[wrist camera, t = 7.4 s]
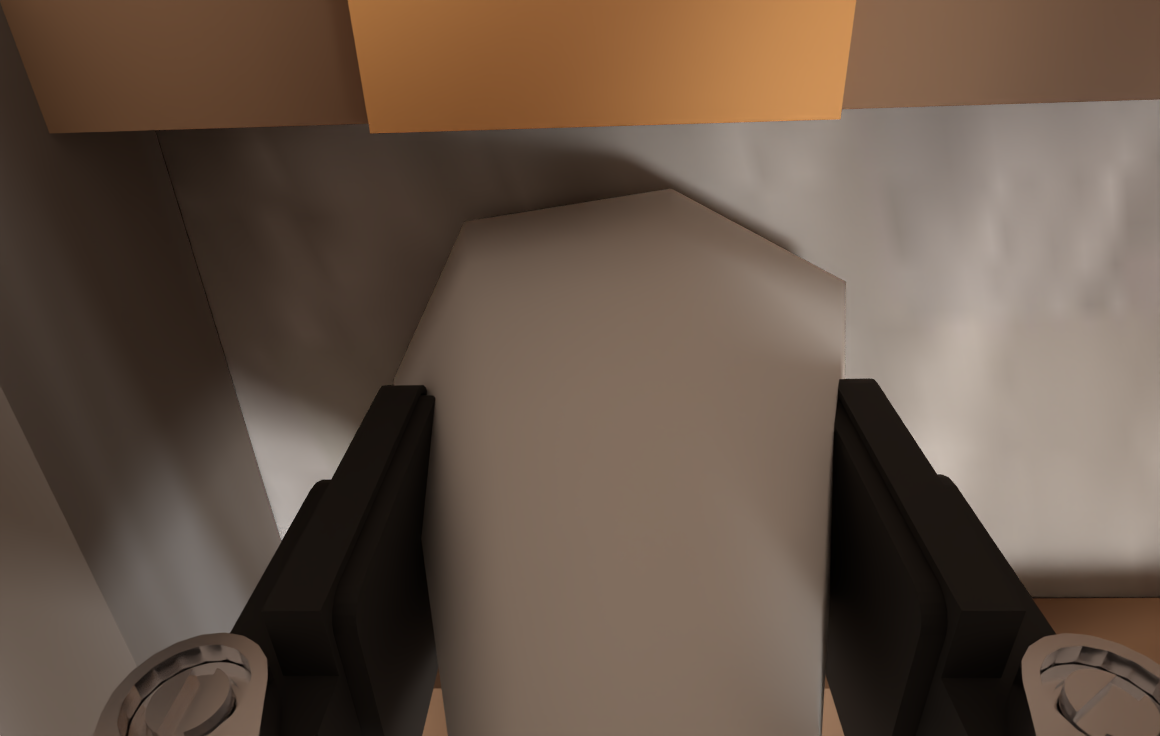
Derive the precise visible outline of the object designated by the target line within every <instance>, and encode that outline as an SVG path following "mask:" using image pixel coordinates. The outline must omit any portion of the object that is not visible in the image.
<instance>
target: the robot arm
mask: <svg viewBox="0 0 1160 736" xmlns="http://www.w3.org/2000/svg"><path fill="white" fill-rule="evenodd" d="M434 407H435V397H434V396H433V395H427V389H426V387H425V386H424V385H387V386H382V387H381V388H380V390H379V391H378V393H377V395H376V397H375V399H374V401H373V403H372V404H371V406H370V408H369V410H368V412H367V414H366V416H365V418H364V419H363V421H362V423H361V425H360V427H359V429H358V431H357V433H356V434H355V436H354V438H353V440H352V442H351V444H350V446H349V447H348V449H347V451H346V453H345V455H344V457H343V459H342V461H341V462H340V464H339V466H338V468H337V470H336V472H335V474H334V476H333V477H332V479H331V480H321V481H319V482H317V483H316V484H315V485H314V486H313V488H312V489H311V490H310V492H309V494H308V495H307V497H306V499H305V501H304V502H303V504H302V506H301V508H300V510H299V511H298V513H297V515H296V517H295V518H294V520H293V522H292V524H291V526H290V527H289V529H288V531H287V533H286V534H285V536H284V538H283V540H282V541H281V543H280V545H279V547H278V549H277V550H276V552H275V554H274V556H273V557H272V559H271V561H270V563H269V565H268V566H267V568H266V570H265V572H264V573H263V575H262V577H261V579H260V581H259V582H258V584H257V586H256V588H255V589H254V591H253V593H252V595H251V596H250V598H249V600H248V602H247V604H246V605H245V607H244V609H243V611H242V612H241V614H240V616H239V618H238V620H237V621H236V623H235V625H234V627H233V628H232V630H231V632H230V633H225V632H224V633H213V634H202V635H199V636H196V637H192V638H189V639H186V640H183V641H179V642H177V643H175V644H173V645H171V646H169V647H167V648H165V649H163V650H161V651H159V652H157V653H155V654H154V655H152V656H151V657H150V658H148V659H147V660H146V661H144V662H143V663H142V664H140V665H139V666H138V667H136V668H135V669H134V670H132V671H131V672H130V673H129V674H128V675H127V677H126V678H125V679H124V680H123V681H122V682H121V683H120V684H119V685H118V687H117V688H116V689H115V690H114V691H113V692H112V694H111V696H110V698H109V700H108V702H107V703H106V705H105V707H104V709H103V711H102V712H101V715H100V718H99V720H98V723H97V726H96V728H95V731H94V734H93V736H422V735H423V730H424V726H425V722H426V718H427V714H428V709H429V705H430V701H431V697H432V693H433V688H434V684H435V680H436V676H437V672H438V659H437V652H436V645H435V637H434V630H433V622H432V615H431V608H430V600H429V593H428V585H427V578H426V571H425V563H424V556H423V548H422V541H421V536H422V526H423V516H424V506H425V496H426V486H427V477H428V467H429V457H430V447H431V437H432V427H433V417H434ZM825 675H826V678H827V681H828V685H829V688H830V691H831V694H832V697H833V701H834V704H835V707H836V710H837V714H838V717H839V720H840V723H841V726H842V730H843V733H844V736H1160V665H1159V664H1157V663H1156V662H1154V661H1153V660H1151V659H1150V658H1148V657H1147V656H1145V655H1143V654H1140V653H1138V652H1136V651H1134V650H1132V649H1130V648H1128V647H1126V646H1123V645H1121V644H1119V643H1116V642H1113V641H1109V640H1106V639H1102V638H1099V637H1095V636H1092V635H1083V634H1071V633H1062V634H1056V633H1055V631H1054V630H1053V628H1052V627H1051V625H1050V624H1049V622H1048V621H1047V619H1046V618H1045V616H1044V615H1043V614H1042V612H1041V611H1040V609H1039V608H1038V606H1037V605H1036V603H1035V602H1034V600H1033V599H1032V597H1031V596H1030V594H1029V593H1028V591H1027V590H1026V588H1025V587H1024V585H1023V584H1022V582H1021V581H1020V580H1019V578H1018V577H1017V575H1016V574H1015V572H1014V571H1013V569H1012V568H1011V566H1010V565H1009V563H1008V562H1007V560H1006V559H1005V557H1004V556H1003V554H1002V553H1001V551H1000V550H999V548H998V547H997V545H996V544H995V543H994V541H993V540H992V538H991V537H990V535H989V534H988V532H987V531H986V529H985V528H984V526H983V525H982V523H981V522H980V520H979V519H978V517H977V516H976V514H975V513H974V511H973V510H972V509H971V507H970V506H969V504H968V503H967V501H966V500H965V498H964V497H963V495H962V494H961V492H960V491H959V489H958V488H957V486H956V485H955V484H954V483H953V482H952V481H951V479H950V478H949V477H946V476H944V475H941V474H936V472H935V470H934V469H933V467H932V466H931V464H930V463H929V461H928V460H927V458H926V457H925V455H924V454H923V452H922V451H921V449H920V448H919V446H918V444H917V443H916V441H915V440H914V438H913V437H912V435H911V434H910V432H909V431H908V429H907V428H906V426H905V425H904V423H903V422H902V420H901V418H900V417H899V415H898V414H897V412H896V411H895V409H894V408H893V406H892V405H891V403H890V402H889V400H888V399H887V397H886V395H885V394H884V392H883V391H882V389H881V388H880V386H879V385H878V383H877V382H876V381H875V380H874V379H839V383H838V399H837V407H836V414H835V422H834V449H833V487H832V526H831V564H830V604H829V621H828V638H827V655H826V673H825Z"/></svg>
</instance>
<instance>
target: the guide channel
mask: <svg viewBox="0 0 1160 736" xmlns="http://www.w3.org/2000/svg"><path fill="white" fill-rule="evenodd" d="M1152 99H1160V0H0V735H1V736H93V734H94V731H95V728H96V726H97V723H98V720H99V718H100V715H101V712H102V711H103V709H104V707H105V705H106V703H107V702H108V700H109V698H110V696H111V694H112V692H113V691H114V690H115V689H116V688H117V687H118V685H119V684H120V683H121V682H122V681H123V680H124V679H125V678H126V677H127V675H128V674H129V673H130V672H131V671H132V670H134V669H135V668H136V667H138V666H139V665H140V664H142V663H143V662H144V661H146V660H147V659H148V658H150V657H151V656H152V655H154V654H155V653H157V652H159V651H161V650H163V649H165V648H167V647H169V646H171V645H173V644H175V643H177V642H179V641H183V640H186V639H189V638H192V637H196V636H199V635H202V634H213V633H224V632H225V633H230V632H231V630H232V628H233V627H234V625H235V623H236V621H237V620H238V618H239V616H240V614H241V612H242V611H243V609H244V607H245V605H246V604H247V602H248V600H249V598H250V596H251V595H252V593H253V591H254V589H255V588H256V586H257V584H258V582H259V581H260V579H261V577H262V575H263V573H264V572H265V570H266V568H267V566H268V565H269V563H270V561H271V559H272V557H273V556H274V554H275V552H276V550H277V549H278V547H279V545H280V543H281V539H280V535H279V532H278V529H277V526H276V522H275V519H274V516H273V513H272V509H271V506H270V503H269V500H268V496H267V493H266V490H265V487H264V483H263V480H262V477H261V474H260V470H259V467H258V464H257V461H256V457H255V454H254V451H253V448H252V444H251V441H250V438H249V435H248V431H247V428H246V425H245V422H244V418H243V415H242V412H241V409H240V405H239V402H238V399H237V396H236V392H235V389H234V386H233V383H232V379H231V376H230V373H229V370H228V366H227V363H226V360H225V357H224V353H223V350H222V347H221V344H220V340H219V337H218V334H217V331H216V327H215V324H214V321H213V318H212V314H211V311H210V308H209V305H208V301H207V298H206V295H205V292H204V288H203V285H202V282H201V279H200V275H199V272H198V269H197V266H196V262H195V259H194V256H193V253H192V249H191V246H190V243H189V240H188V236H187V233H186V230H185V227H184V223H183V220H182V217H181V214H180V210H179V207H178V204H177V201H176V197H175V194H174V191H173V188H172V184H171V181H170V178H169V175H168V171H167V168H166V165H165V162H164V158H163V155H162V152H161V149H160V145H159V142H158V139H157V136H156V132H155V130H178V129H210V128H243V127H275V126H308V125H340V124H369V129H370V133H400V132H433V131H466V130H499V129H532V128H566V127H599V126H632V125H665V124H698V123H731V122H764V121H797V120H830V119H840V118H841V110H842V109H860V108H892V107H925V106H957V105H990V104H1022V103H1055V102H1087V101H1120V100H1152ZM1032 599H1033V600H1034V602H1035V603H1036V605H1037V606H1038V608H1039V609H1040V611H1041V612H1042V614H1043V615H1044V616H1045V618H1046V619H1047V621H1048V622H1049V624H1050V625H1051V627H1052V628H1053V630H1054V631H1055V633H1056V634H1062V633H1071V634H1083V635H1092V636H1095V637H1099V638H1102V639H1106V640H1109V641H1113V642H1116V643H1119V644H1121V645H1123V646H1126V647H1128V648H1130V649H1132V650H1134V651H1136V652H1138V653H1140V654H1143V655H1145V656H1147V657H1148V658H1150V659H1151V660H1153V661H1154V662H1156V663H1157V664H1159V665H1160V598H1032ZM422 736H448V733H447V726H446V718H445V711H444V704H443V696H442V689H441V682H440V674H439V667H438V672H437V676H436V680H435V684H434V688H433V693H432V697H431V701H430V705H429V709H428V714H427V718H426V722H425V726H424V730H423V735H422ZM822 736H844V733H843V730H842V726H841V723H840V720H839V717H838V714H837V710H836V707H835V704H834V701H833V697H832V694H831V691H830V688H829V685H828V681H827V678H826V675H825V690H824V707H823V724H822Z"/></svg>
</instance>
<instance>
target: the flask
mask: <svg viewBox="0 0 1160 736" xmlns="http://www.w3.org/2000/svg"><path fill="white" fill-rule="evenodd" d="M845 303H846V282H845V281H843V280H841V279H839V278H838V277H836V276H834V275H832V274H830V273H828V272H826V271H825V270H823V269H821V268H819V267H817V266H815V265H813V264H811V263H810V262H808V261H806V260H804V259H802V258H800V257H798V256H796V255H795V254H793V253H791V252H789V251H787V250H785V249H783V248H781V247H780V246H778V245H776V244H774V243H772V242H770V241H768V240H767V239H765V238H763V237H761V236H759V235H757V234H755V233H753V232H752V231H750V230H748V229H746V228H744V227H742V226H740V225H738V224H737V223H735V222H733V221H731V220H729V219H727V218H725V217H723V216H722V215H720V214H718V213H716V212H714V211H712V210H710V209H709V208H707V207H705V206H703V205H701V204H699V203H697V202H695V201H694V200H692V199H690V198H688V197H686V196H684V195H682V194H680V193H679V192H677V191H675V190H673V189H665V190H659V191H653V192H646V193H640V194H634V195H628V196H621V197H615V198H609V199H603V200H596V201H590V202H584V203H577V204H571V205H565V206H559V207H552V208H546V209H540V210H534V211H527V212H521V213H515V214H509V215H502V216H496V217H490V218H483V219H477V220H471V221H465V222H464V224H463V226H462V228H461V230H460V232H459V235H458V237H457V239H456V241H455V244H454V246H453V248H452V250H451V253H450V255H449V257H448V259H447V262H446V264H445V266H444V268H443V270H442V273H441V275H440V277H439V279H438V282H437V284H436V286H435V288H434V291H433V293H432V295H431V297H430V299H429V302H428V304H427V306H426V308H425V311H424V313H423V315H422V317H421V320H420V322H419V324H418V326H417V328H416V331H415V333H414V335H413V337H412V340H411V342H410V344H409V346H408V349H407V351H406V353H405V355H404V357H403V360H402V362H401V364H400V366H399V369H398V371H397V373H396V375H395V378H394V385H424V386H425V387H426V389H427V395H433V396H434V397H435V407H434V417H433V427H432V437H431V447H430V457H429V467H428V477H427V486H426V496H425V506H424V516H423V526H422V536H421V541H422V548H423V556H424V563H425V571H426V578H427V585H428V593H429V600H430V608H431V615H432V622H433V630H434V637H435V645H436V652H437V659H438V667H439V674H440V682H441V689H442V696H443V704H444V711H445V718H446V726H447V733H448V736H822V724H823V707H824V690H825V673H826V655H827V638H828V621H829V604H830V564H831V526H832V487H833V449H834V422H835V414H836V407H837V399H838V383H839V379H845Z"/></svg>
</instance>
